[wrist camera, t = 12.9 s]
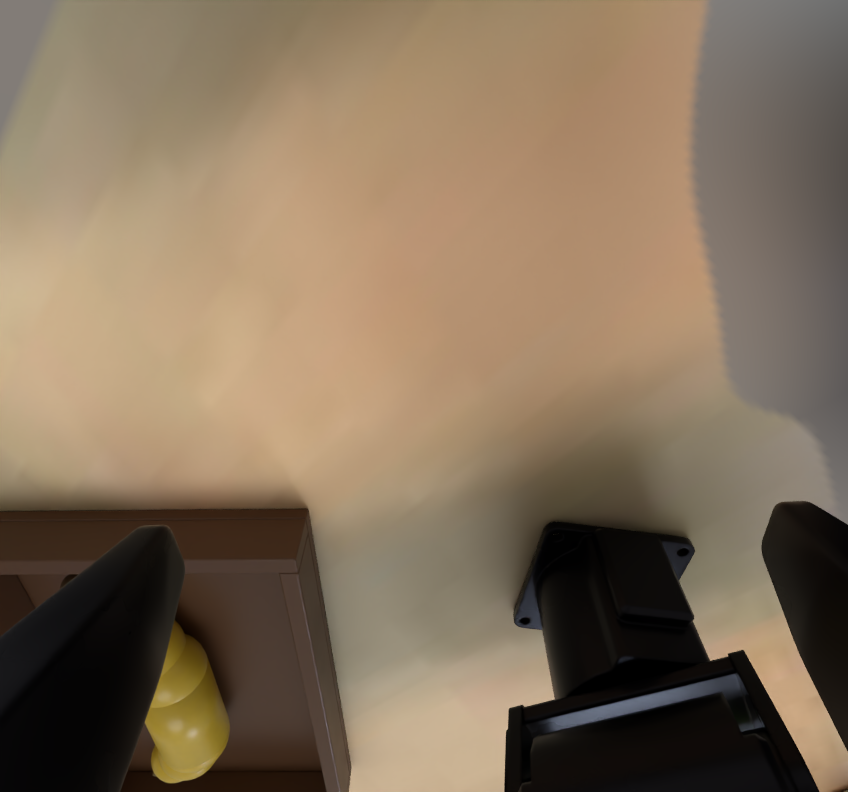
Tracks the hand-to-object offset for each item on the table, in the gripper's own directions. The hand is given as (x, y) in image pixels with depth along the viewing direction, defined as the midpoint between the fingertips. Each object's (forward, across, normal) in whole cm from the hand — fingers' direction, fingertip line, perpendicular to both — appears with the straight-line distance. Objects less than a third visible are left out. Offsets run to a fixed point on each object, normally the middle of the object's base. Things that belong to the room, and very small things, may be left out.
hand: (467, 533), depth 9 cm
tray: (+12, +14, +21) cm, 28 cm away
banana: (+11, +15, +21) cm, 28 cm away
